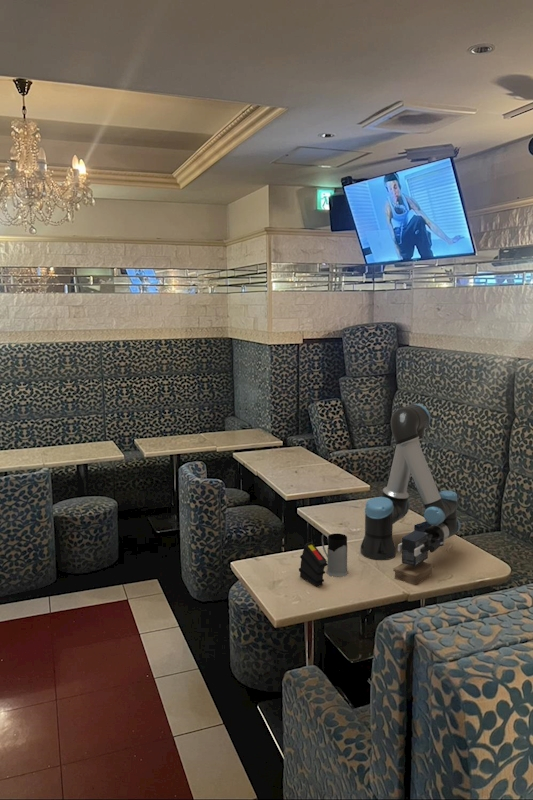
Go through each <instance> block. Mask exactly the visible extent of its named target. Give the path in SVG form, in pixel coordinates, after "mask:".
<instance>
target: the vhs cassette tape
mask: <svg viewBox="0 0 533 800" xmlns="http://www.w3.org/2000/svg"><path fill="white" fill-rule="evenodd" d="M430 526H432V525H431V524H429V523H427V522H426V520H425V521H423V522H421V523H416V524H414V527H413V528H414V529H413V531H414V530H415V531H419V532H424V531H425V529H426V528H428V527H430Z"/></svg>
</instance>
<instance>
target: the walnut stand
mask: <svg viewBox="0 0 533 800" xmlns="http://www.w3.org/2000/svg"><path fill="white" fill-rule="evenodd" d="M433 568H435V564H432V563H430V562H426V561H423V562H422V563H420V564H419V565H417V566H416V567H415V566H412V565H408V564H405V563H402V562H401V563H399V565H397V566H395V567H393V568H392V569H393V570H392V571H393V572H394V579H396V580H399V581H403V582H404V581H405V583H408V584H411V585H412V586H416V585H418V584H419V583H421V582H422V581H424V580H426V579H427V578H428V577H430V576H432V575H433Z"/></svg>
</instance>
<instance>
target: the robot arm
mask: <svg viewBox="0 0 533 800" xmlns="http://www.w3.org/2000/svg"><path fill="white" fill-rule="evenodd" d="M430 423H431V414H430V411H429V410H428V409H427V407H425V406H424V405H422V404H420V403H411V404H408V405H406V406H404V407H400V408H397V409H396V410H395V411H394V412H393V414H392V415H391V418H390V429H391V434H392V436H393V438H394V441H395V444H396V447H395V451H394V454H393V460H392V464H391V469H390V472H389V477H388V480H387V486H384V488H382V492H381V496H376V497H372V498H369V499H368V500H366V503H365V509H364V514H365V515H364V517H365V518H364V537H363V539H362V542H361V544H360V551H359V552H360V554H361V555H362V556H364V557H366V558H368V559H372V560H378V561H379V560H381V561H382V560H384V561H385V560H391V559H392V558H393V559H394V557H396V554H397V552H402V541H401V542H400V543H399V544H397V548H396V545H395V541H394V538H393V527H394V526H393V525H394V524H395V523H396V522H398V521H400V520H401V519H403V518H404V517H405V516H406V515H407V513H408V512H409V510H410V500H409V497H410V494H409V492H408V491H407V490H408V485H409V482H410V478H411V477H412V479H413V482H414V484H415V487H416V489H417V491H418V495H419V496H420V499H421V501H422V504H423V506H424V509H425V510H424V513H423V517H424V520H425V521H426V522H427V523H429V524H431V525H432V526H430V527H428V528H426V529H425V531H424V533H428V541H427V542H426V543H425V545H421V546H419V547H417V548H416V549H414V556H418V555H419V554H421V553H424V552H428V553H429V552H430V553H434V552H435V551H436V550H438V549H439V548H440V547H443V546H444V542H445V540H447V539H450V537H453V536H455V535H456V534H458V532H459V531H460V530H461V527H462V526H461V522H460V520H459V518H458V517H457V515H458V502H459V501H458V494H457V492H455V491H452V490H441V491H440V492H439V490H438V487H437V485H436V482H435V480H434V477H433V474H432V473H431V470H430V467H429V465H428V463H427V460H426V458H425V457H426V456H425V455H424V452H423V450H422V448H421V447H422V446H421V445H420V443H419V442H420V441H421V440H423V439H424V434H425V430H426V428H427V427H428V426H429V424H430ZM403 537H404V536H402V537H401V539H402V538H403Z"/></svg>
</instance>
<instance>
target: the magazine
mask: <svg viewBox="0 0 533 800" xmlns="http://www.w3.org/2000/svg"><path fill="white" fill-rule="evenodd" d="M302 548H303V551H302V554H301V555H300V557H299V558H300V559H301V560H300V568H298V572H300V574H299V577H300V578H301V579H303V580H304V581H306V582H308V583H309V584H310V585H313V586H314V587H316V588H317V587H321V586H323V583H324V582H325V579H324V574H326V572H325V568H326V567H327V565H328V564H327V562H328V560H327V559H326V558H325V557H324V556H323V554H322V553H321V552H320V551H319V549H318V548H317V546H315V544H314V543H313V542H311V541H310V542H307V543H305V544H304V545H303V547H302Z"/></svg>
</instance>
